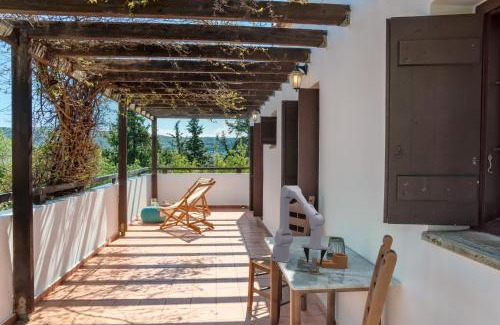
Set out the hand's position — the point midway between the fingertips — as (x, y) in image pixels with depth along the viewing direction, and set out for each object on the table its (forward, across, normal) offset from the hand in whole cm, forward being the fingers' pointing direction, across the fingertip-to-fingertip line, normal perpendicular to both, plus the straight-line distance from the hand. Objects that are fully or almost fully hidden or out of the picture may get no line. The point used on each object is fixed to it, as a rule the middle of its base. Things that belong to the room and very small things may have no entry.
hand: (314, 263), depth 210 cm
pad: (+5, 0, 0) cm, 5 cm away
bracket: (+5, +8, +17) cm, 19 cm away
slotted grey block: (+4, 0, 0) cm, 4 cm away
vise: (+5, -4, +7) cm, 10 cm away
